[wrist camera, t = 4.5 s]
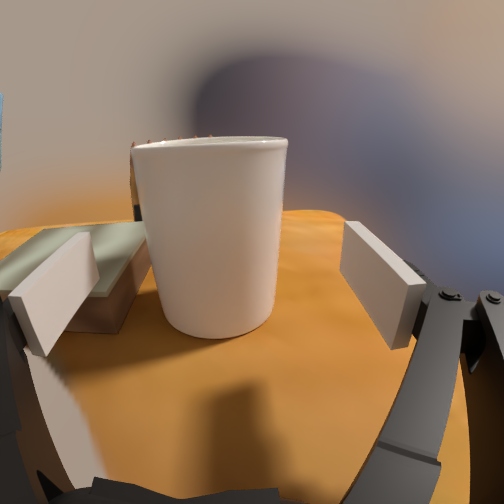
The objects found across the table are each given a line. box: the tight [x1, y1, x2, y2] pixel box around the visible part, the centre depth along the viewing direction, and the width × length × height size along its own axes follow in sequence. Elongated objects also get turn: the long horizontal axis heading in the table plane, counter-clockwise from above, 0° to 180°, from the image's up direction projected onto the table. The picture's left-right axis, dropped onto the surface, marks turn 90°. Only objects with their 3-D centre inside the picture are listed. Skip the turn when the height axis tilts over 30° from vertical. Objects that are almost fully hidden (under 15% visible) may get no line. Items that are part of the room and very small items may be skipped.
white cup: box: [130, 136, 288, 339], centre depth 21 cm, size 10×10×12 cm
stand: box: [0, 221, 151, 334], centre depth 25 cm, size 15×15×3 cm
